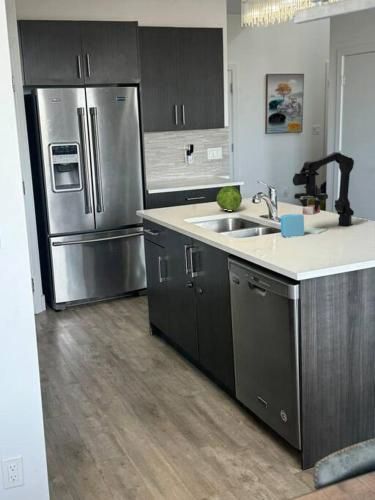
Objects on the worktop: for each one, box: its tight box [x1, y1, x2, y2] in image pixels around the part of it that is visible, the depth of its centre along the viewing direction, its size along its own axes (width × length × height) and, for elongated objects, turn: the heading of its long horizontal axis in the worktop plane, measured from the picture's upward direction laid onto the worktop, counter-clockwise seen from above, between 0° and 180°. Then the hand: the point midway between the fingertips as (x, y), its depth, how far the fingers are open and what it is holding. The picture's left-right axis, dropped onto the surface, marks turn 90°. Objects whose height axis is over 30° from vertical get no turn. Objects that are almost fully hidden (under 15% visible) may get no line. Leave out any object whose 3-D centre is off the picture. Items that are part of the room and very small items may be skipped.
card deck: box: [302, 204, 321, 216], centre depth 341 cm, size 6×9×4 cm, turn 139°
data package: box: [280, 213, 305, 238], centre depth 332 cm, size 12×4×12 cm, turn 105°
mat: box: [304, 226, 329, 235], centre depth 343 cm, size 14×12×1 cm
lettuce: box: [216, 185, 243, 211], centre depth 431 cm, size 18×23×19 cm
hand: (311, 211), depth 341 cm, fingers closed on card deck, 6 cm apart
